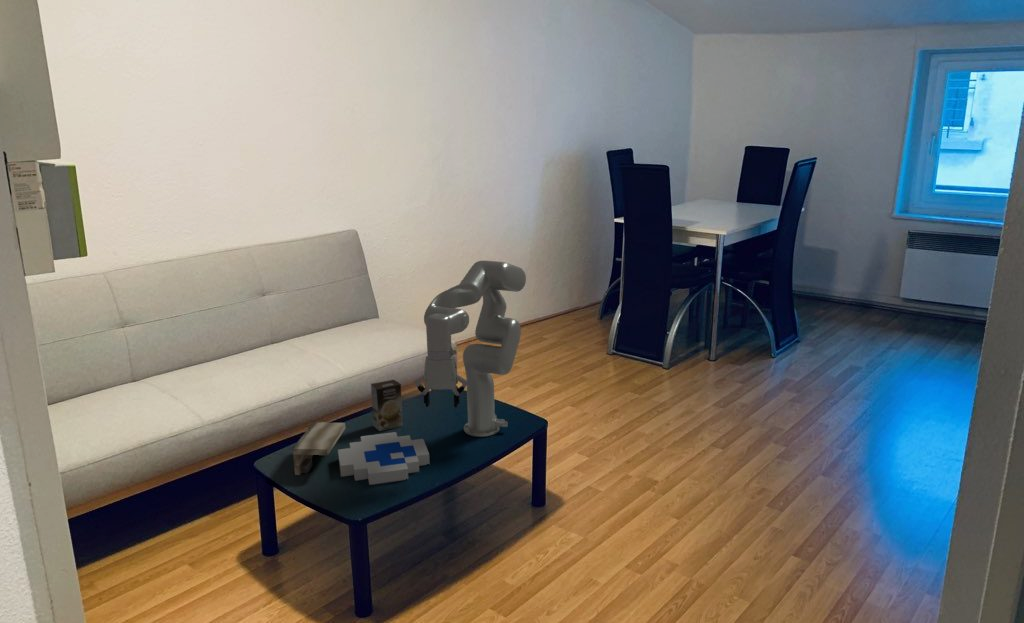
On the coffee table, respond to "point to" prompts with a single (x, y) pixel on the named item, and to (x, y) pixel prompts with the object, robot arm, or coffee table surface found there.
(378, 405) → the coffee box
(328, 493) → the coffee table surface
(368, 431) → the coffee table surface
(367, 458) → the pixel art tile
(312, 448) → the low shelf
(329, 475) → the coffee table surface
